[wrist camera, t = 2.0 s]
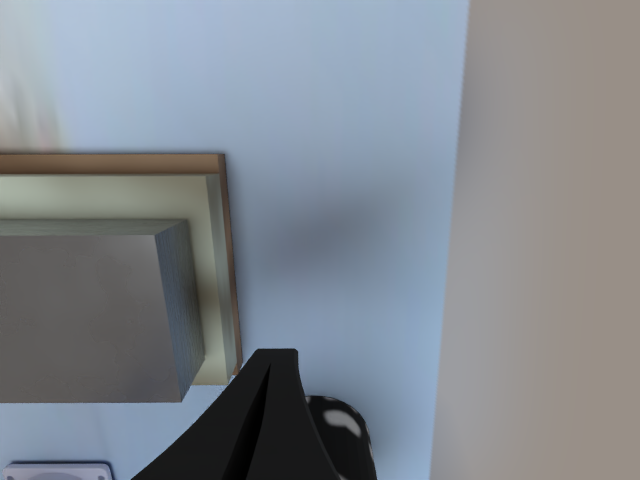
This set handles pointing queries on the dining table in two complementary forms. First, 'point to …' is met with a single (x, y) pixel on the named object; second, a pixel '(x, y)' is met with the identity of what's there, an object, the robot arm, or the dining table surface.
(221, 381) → the tan piece
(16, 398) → the metal block
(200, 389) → the dining table surface
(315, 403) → the white-spotted black cylinder
